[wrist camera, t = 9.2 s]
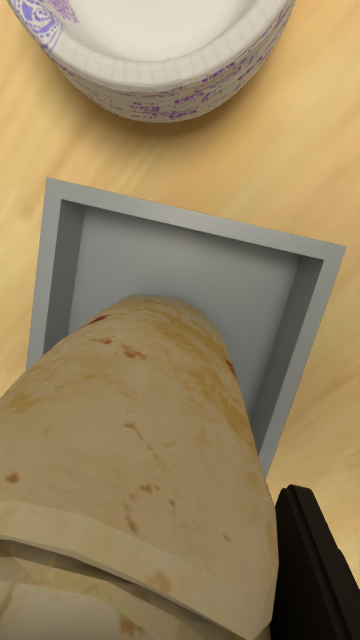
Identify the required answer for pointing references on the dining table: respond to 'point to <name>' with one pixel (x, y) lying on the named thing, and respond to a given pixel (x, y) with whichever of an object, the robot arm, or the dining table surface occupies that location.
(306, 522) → the robot arm
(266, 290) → the bin
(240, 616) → the food model
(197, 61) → the paper bowls
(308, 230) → the dining table surface
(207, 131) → the dining table surface
